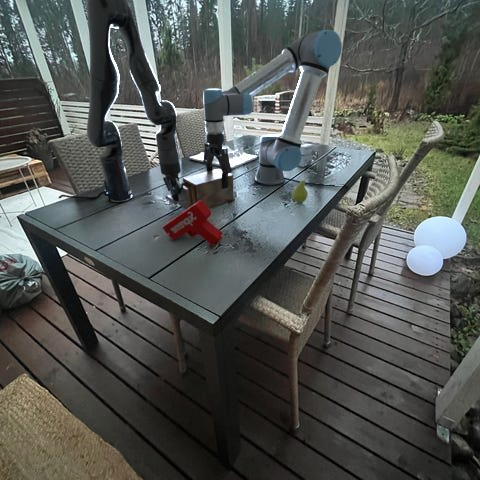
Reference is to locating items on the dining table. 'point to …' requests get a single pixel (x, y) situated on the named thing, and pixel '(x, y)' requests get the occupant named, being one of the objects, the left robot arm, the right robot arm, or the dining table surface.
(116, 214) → the dining table surface
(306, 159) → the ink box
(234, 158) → the relief map
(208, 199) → the wooden drawer box
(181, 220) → the toy gun
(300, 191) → the fruit
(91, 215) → the dining table surface
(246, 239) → the dining table surface
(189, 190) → the drawer
